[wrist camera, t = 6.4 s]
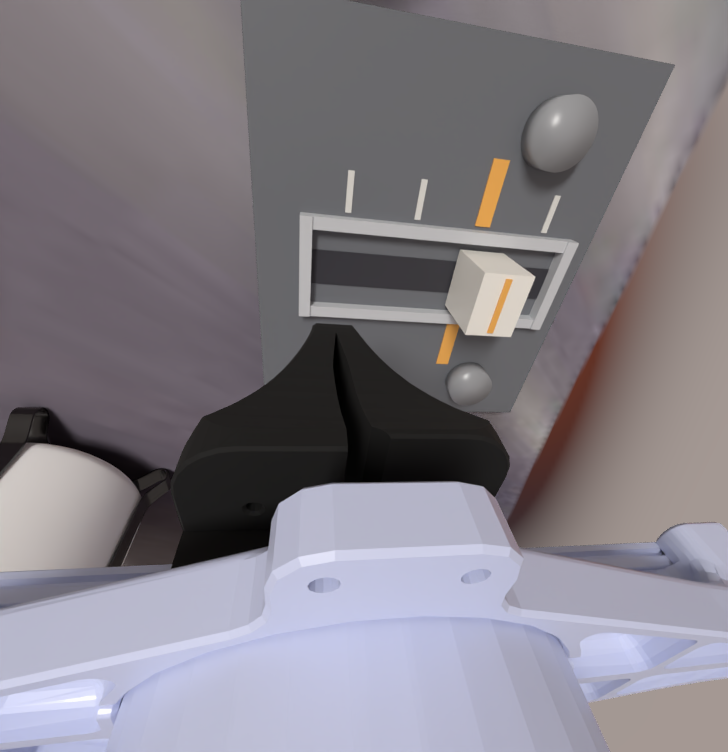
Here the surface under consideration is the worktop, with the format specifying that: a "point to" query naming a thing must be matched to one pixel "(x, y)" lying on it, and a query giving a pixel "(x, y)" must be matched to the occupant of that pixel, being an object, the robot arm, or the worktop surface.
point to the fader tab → (487, 293)
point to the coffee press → (65, 501)
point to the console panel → (426, 179)
